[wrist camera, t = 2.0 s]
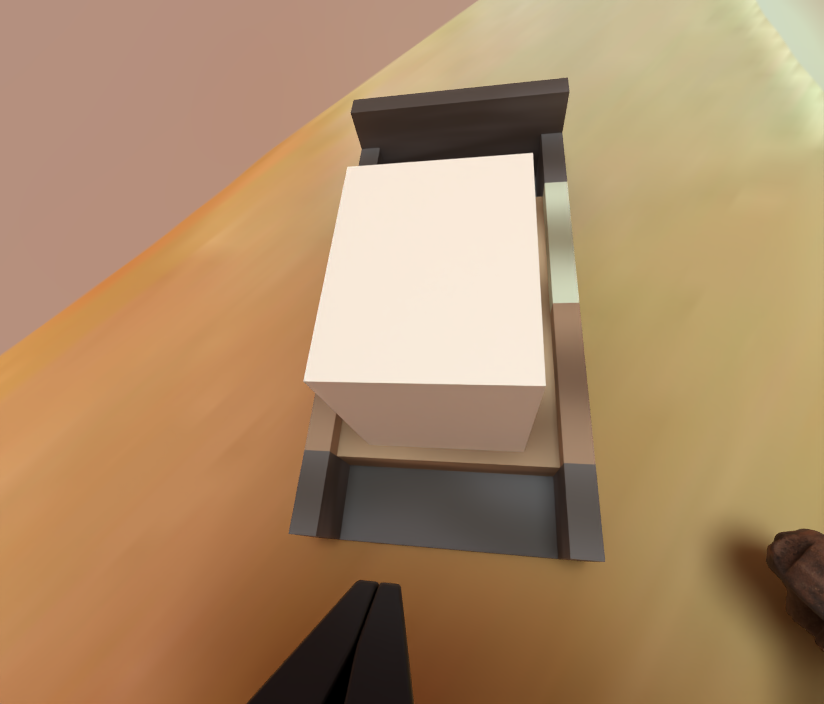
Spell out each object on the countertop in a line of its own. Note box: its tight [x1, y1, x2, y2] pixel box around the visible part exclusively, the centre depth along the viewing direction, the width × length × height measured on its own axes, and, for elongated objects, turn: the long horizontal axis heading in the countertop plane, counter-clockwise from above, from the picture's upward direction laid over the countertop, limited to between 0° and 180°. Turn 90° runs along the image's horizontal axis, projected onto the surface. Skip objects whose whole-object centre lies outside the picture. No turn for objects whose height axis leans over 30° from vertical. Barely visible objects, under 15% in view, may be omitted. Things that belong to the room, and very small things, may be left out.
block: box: [304, 153, 546, 452], centre depth 18 cm, size 9×7×8 cm
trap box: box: [289, 78, 605, 562], centre depth 22 cm, size 24×12×6 cm, turn 176°
